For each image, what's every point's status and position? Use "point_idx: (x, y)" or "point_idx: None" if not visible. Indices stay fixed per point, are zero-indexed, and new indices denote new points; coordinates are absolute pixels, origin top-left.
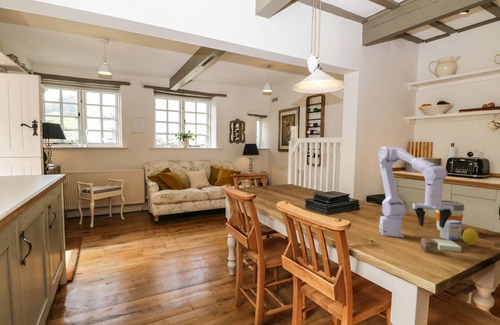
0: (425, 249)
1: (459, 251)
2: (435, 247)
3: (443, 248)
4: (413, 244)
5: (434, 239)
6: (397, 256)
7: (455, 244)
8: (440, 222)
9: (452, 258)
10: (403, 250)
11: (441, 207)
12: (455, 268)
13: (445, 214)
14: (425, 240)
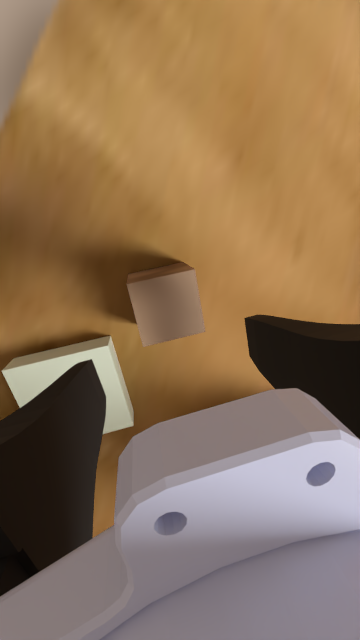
0: (184, 264)
1: (19, 357)
2: (138, 275)
3: (91, 343)
4: (214, 347)
5: (120, 420)
6: (328, 119)
7: (27, 399)
8: (95, 415)
9: (65, 233)
10: (278, 233)
11: (39, 614)
12: (69, 61)
13: (4, 440)
14: (190, 298)
